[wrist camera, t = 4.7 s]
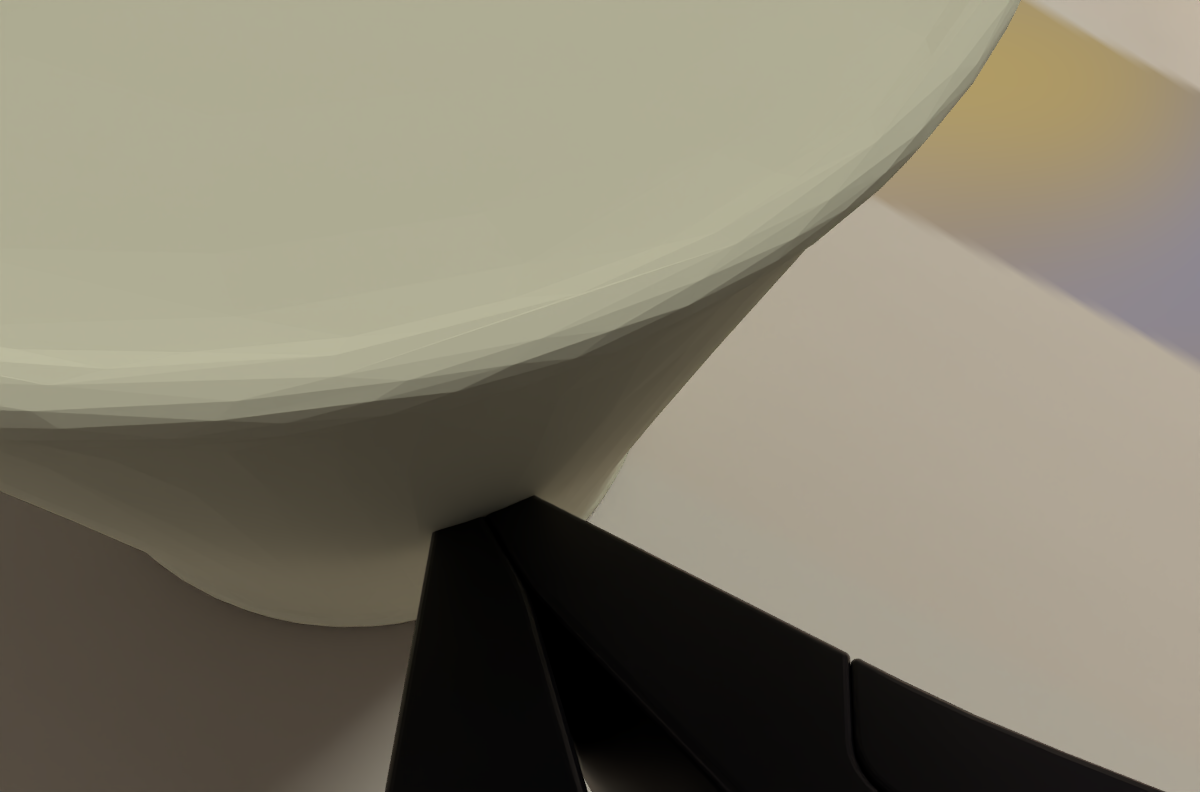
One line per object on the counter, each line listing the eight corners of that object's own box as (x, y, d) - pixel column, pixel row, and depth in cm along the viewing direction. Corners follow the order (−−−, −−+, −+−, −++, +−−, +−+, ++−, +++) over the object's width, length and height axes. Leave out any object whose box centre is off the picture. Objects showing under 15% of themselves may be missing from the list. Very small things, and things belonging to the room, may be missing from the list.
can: (-78, 416, 14) (-2402, -768, 3) (301, 1, 17) (23, -1385, 6) (453, 748, 14) (529, 1074, 2) (738, 271, 17) (1368, -580, 5)
